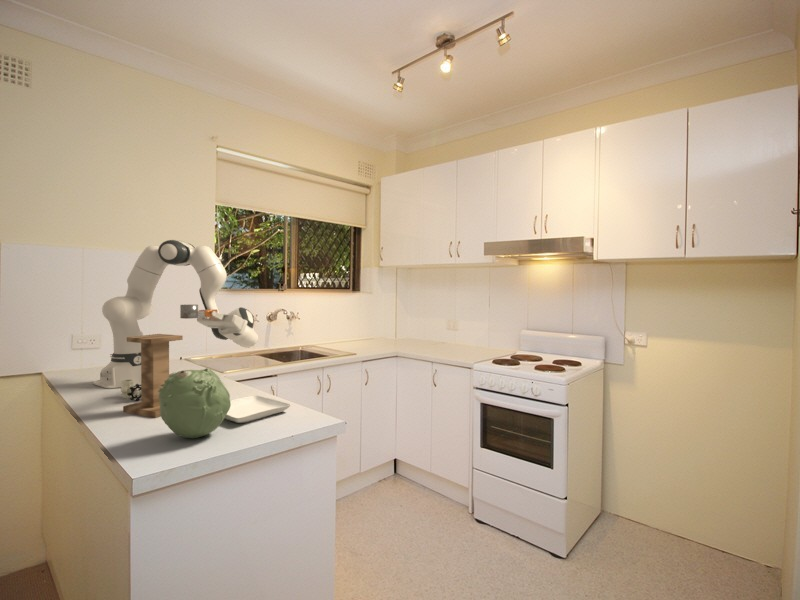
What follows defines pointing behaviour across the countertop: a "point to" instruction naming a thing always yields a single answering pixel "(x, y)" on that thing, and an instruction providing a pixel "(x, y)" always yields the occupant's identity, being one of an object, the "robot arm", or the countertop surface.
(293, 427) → the countertop surface
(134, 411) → the stand
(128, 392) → the valve
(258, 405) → the salad plate
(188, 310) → the valve lever
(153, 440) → the countertop surface
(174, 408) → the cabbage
